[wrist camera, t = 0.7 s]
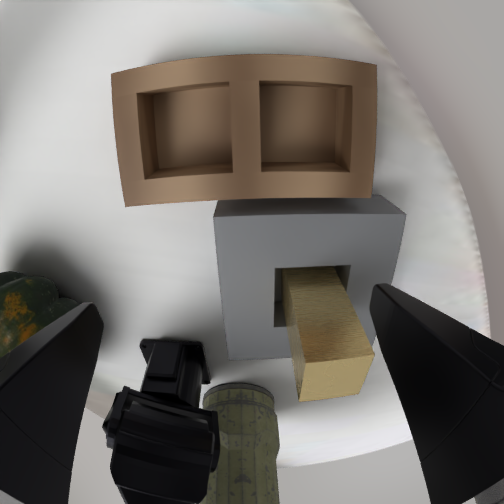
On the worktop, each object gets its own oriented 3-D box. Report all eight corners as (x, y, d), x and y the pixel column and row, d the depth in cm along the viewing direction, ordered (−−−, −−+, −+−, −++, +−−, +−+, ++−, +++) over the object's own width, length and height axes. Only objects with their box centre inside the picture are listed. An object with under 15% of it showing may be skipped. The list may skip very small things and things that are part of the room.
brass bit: (322, 291, 22) (358, 393, 14) (280, 293, 22) (298, 401, 14) (327, 254, 21) (374, 354, 12) (281, 255, 21) (305, 363, 12)
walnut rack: (352, 71, 15) (376, 64, 12) (349, 181, 19) (371, 198, 16) (135, 79, 15) (111, 73, 12) (145, 188, 19) (125, 206, 16)
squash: (138, 381, 21) (-24, 420, 8) (83, 412, 26) (-18, 436, 13) (87, 246, 26) (-48, 233, 12) (47, 312, 31) (-48, 315, 17)
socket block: (358, 318, 25) (371, 348, 22) (230, 326, 25) (228, 360, 22) (381, 195, 20) (406, 214, 16) (219, 196, 20) (213, 217, 16)
